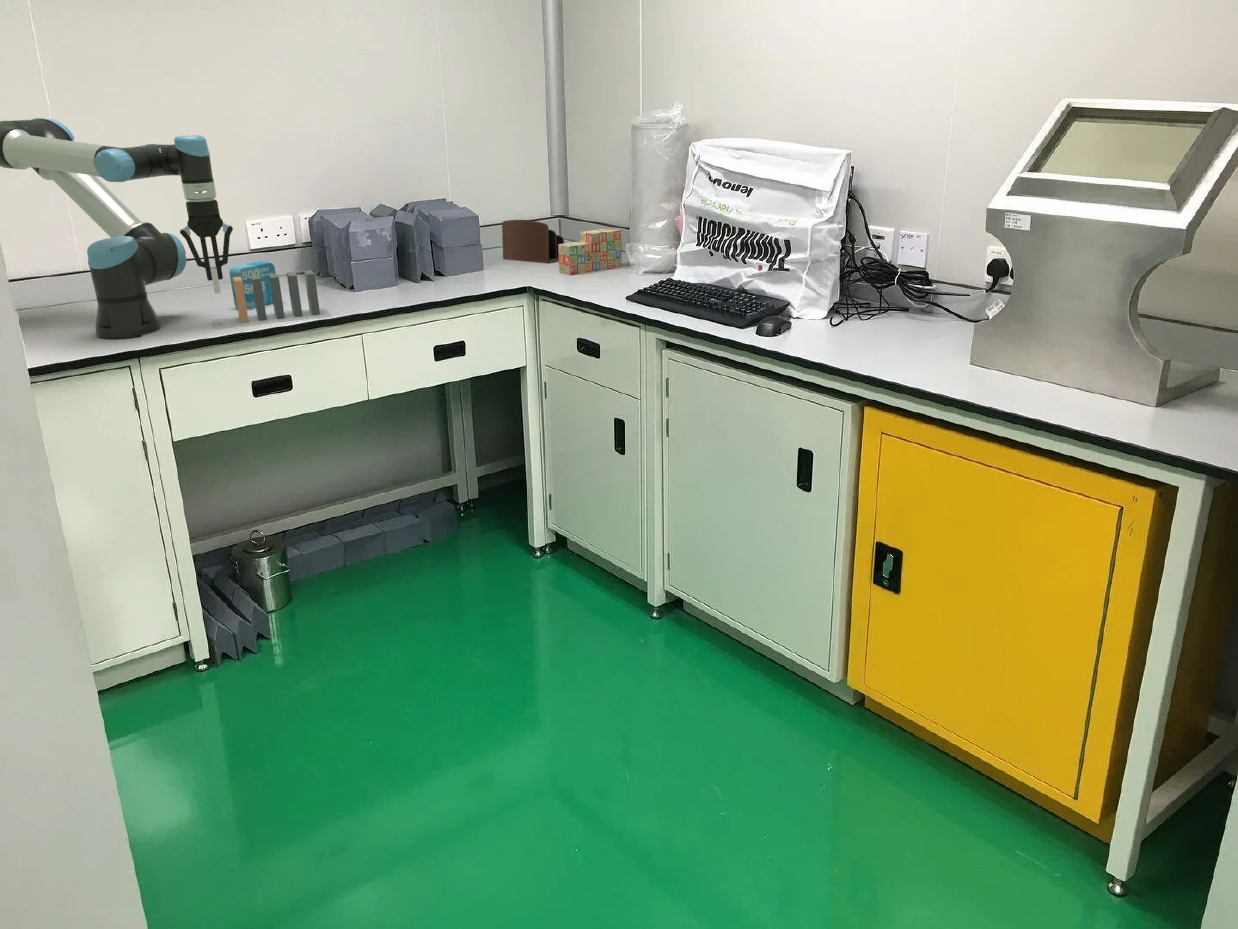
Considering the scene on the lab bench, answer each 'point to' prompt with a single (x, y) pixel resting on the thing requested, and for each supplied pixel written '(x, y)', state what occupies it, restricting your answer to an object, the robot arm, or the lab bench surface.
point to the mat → (270, 319)
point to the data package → (245, 273)
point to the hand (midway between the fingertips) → (217, 292)
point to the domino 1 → (240, 299)
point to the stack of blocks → (591, 252)
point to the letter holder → (530, 241)
